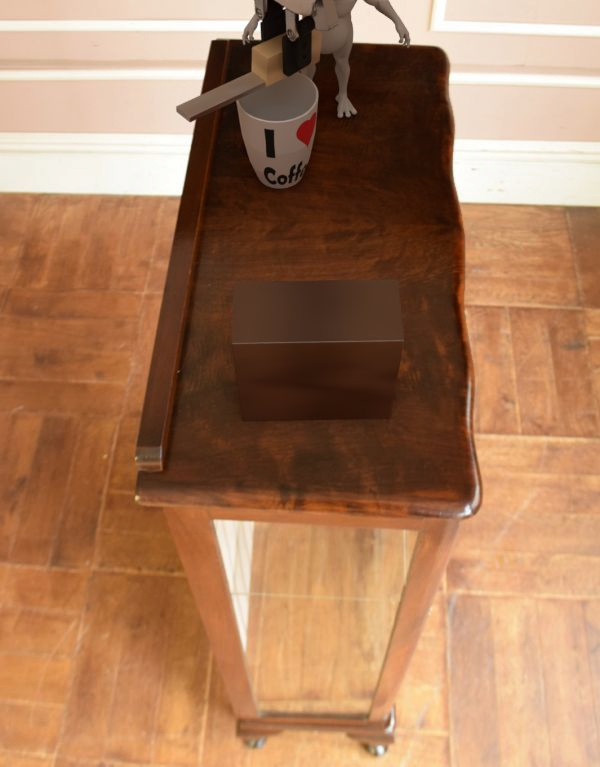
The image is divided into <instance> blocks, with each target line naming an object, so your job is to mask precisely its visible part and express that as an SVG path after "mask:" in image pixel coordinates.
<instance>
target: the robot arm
mask: <svg viewBox="0 0 600 767" xmlns="http://www.w3.org/2000/svg"><path fill="white" fill-rule="evenodd" d="M253 1H254V2H253V3H254V14H256V16H257V18H258V19H259V20H260V21H259V22H260V23H259V26H260V44H261V43H263V42H265V41H268V40H270V39H272V38H275V37H277V36H279V35H281V34H284V33H287V34H286V35H285V36H283V37H282V52H283V73H284V74H285V75H286V76H288V77H289V76H291V75H293V74H295V73H296V72H298V71H299V72H301V71H300V70H301V69H303V68H305V67H306V66H308V65H309V64H310V63H311V60H312V30H317V31H329V30H330V29H332V28H334V27H335V26H337V25H338V24H339V17H338V13H337V9H336V5H335V0H253ZM302 15H303V16H304V18H302V17H301V19H300V16H302Z"/></svg>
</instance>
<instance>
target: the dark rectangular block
mask: <svg viewBox="0 0 600 767" xmlns="http://www.w3.org/2000/svg"><path fill="white" fill-rule="evenodd" d="M232 293H233V294H232V298H233V299H232V322H231V344H230V345H231V350H232V354H233V355H232V357H233V364H234V370H235V377H236V383H237V390H238V399H239V405H240V411H241V419H242V421H243V422H246V421H247V422H251V421H252V422H254V421H255V422H258V421H259V422H261V421H262V422H263V421H313V420H314V421H317V420H320V421H321V420H323V421H324V420H373V419H375V420H377V419H380V420H381V419H390V418H391V414H392V408H393V404H394V399H395V394H396V387H397V383H398V377H399V372H400V366H401V360H402V355H403V351H404V345H405V332H404V322H403V314H402V305H401V295H400V294H401V293H400V284H399V279H398V278H386V279H385V278H381V279H379V278H378V279H376V278H375V279H324V280H323V279H322V280H321V279H320V280H318V279H317V280H267V281H265V280H263V281H262V280H261V281H234V282H233V292H232Z"/></svg>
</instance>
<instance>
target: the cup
mask: <svg viewBox="0 0 600 767" xmlns="http://www.w3.org/2000/svg"><path fill="white" fill-rule="evenodd" d="M235 102H236V108H237V114H238V120H239V125H240V126H239V127H240V132H241V136H242V140H243V143H244V147H245V149H246V153H247V156H248V159H249V162H250V164H251V166H252V168H253V170H254V172H255V174H256V176H257V178H258V180H259V181H260V183H262V184H263V185H264V186H266V187H269V188H271V189H280V190H281V189H288V188H290V187H293V186H295V185H297V184H298V183H299V182H300V181H301V180H302V178H303V177H304V173H305V171H306V168H307V166H308V164H309V161H310V159H311V154H312V149H313V144H314V140H315V135H316V130H317V117H318V105H319V89H318V87H317V85H316V84H315V82H314V81H313V79H312V80H311V79H310V78H308V77H307V76H305V75H303V74H301V72H300V71H299V72H297V73H295V74H293V75H291V76H289V77H286V78H284V79H282V80H280V81H278V82H276V83H274V84H272V85H269V86H267V87H266V86H265V87H264V88H262V89H260V90H257V91H255V92H253V93H251V94H249V95H247V96H245V97H243V98H241V99H239V100H236V101H235Z"/></svg>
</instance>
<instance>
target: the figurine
mask: <svg viewBox="0 0 600 767" xmlns="http://www.w3.org/2000/svg"><path fill="white" fill-rule="evenodd" d="M362 1H363V2H364V3H365V4H367V5H369V6H372V7H374V8H375V10H376V11H378V12H379V13H380V14H382V15H383V16H384V17H386V18H387V19H389V20H391V22H392V23H393V24H394V28H395V31H396V33H397V34H398V37H399V40H398V44H402V47H405V46H406V48H407V49H409V48H410V46H411V37H410V32H409V30H408V28H407V27H406V25H405V23H404V22H403V20H402V18H401V17H400V15H399V14H398V13H397V11H396V10H395V9H394V7H393V6H392V4H391V2H390V0H362ZM357 2H358V0H335V5H336V9H337V13H338V17H339V24H338V25H337V26H335V27H334V28H332V29H330V30H329V31H320V32H321V33H322V42H321V51H320V55H321V54H322V55H330V54H332V56H333V58H334V60H335V66H334V72H335V76H336V77H337V81H338V88H339V91H338V94H336V96H335V101H336V102H337V103H338V104H337V107H336V108H337V109H336V111H337V117H338V119H341V118H343V117H344V115H345V117H346V118H350V117H351V116H353V115H354V116H355V115H357V114H358V111H357V109H356V108H355V107H354V106H353V104H352V102H351V101H350V99H349V98H348V92H347V90H348V83H349V79H350V78H349V77H350V74H351V67H350V65H349V58H350V54H351V51H352V47H353V43H354V24H353V20H352V11H353V9H354V8H355V5H356V3H357ZM302 18H304V16H303V15H301V19H302ZM259 22H261V20H259V19H258V18H257V16H256V14H255V13H254V14H253V16H252V17H251V18H250V20H249V21H248V23H247V25H245V27H244V29H243V34H242V35H241V38H242V45H243V46H245V45H246V43H248V44H250V43H251V41H254V40H255V37H254V33H255V31H256V30H257V29H258V26H259ZM316 70H317V66H316V64H314V65H311V66H309V67H307V68H305V69H303V70H301V71H300V73H301V74H303V75H305V76H307V77H308V78H310V79H311V80H312V81H313V79H314V76H315V74H316ZM344 113H345V114H344Z"/></svg>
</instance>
